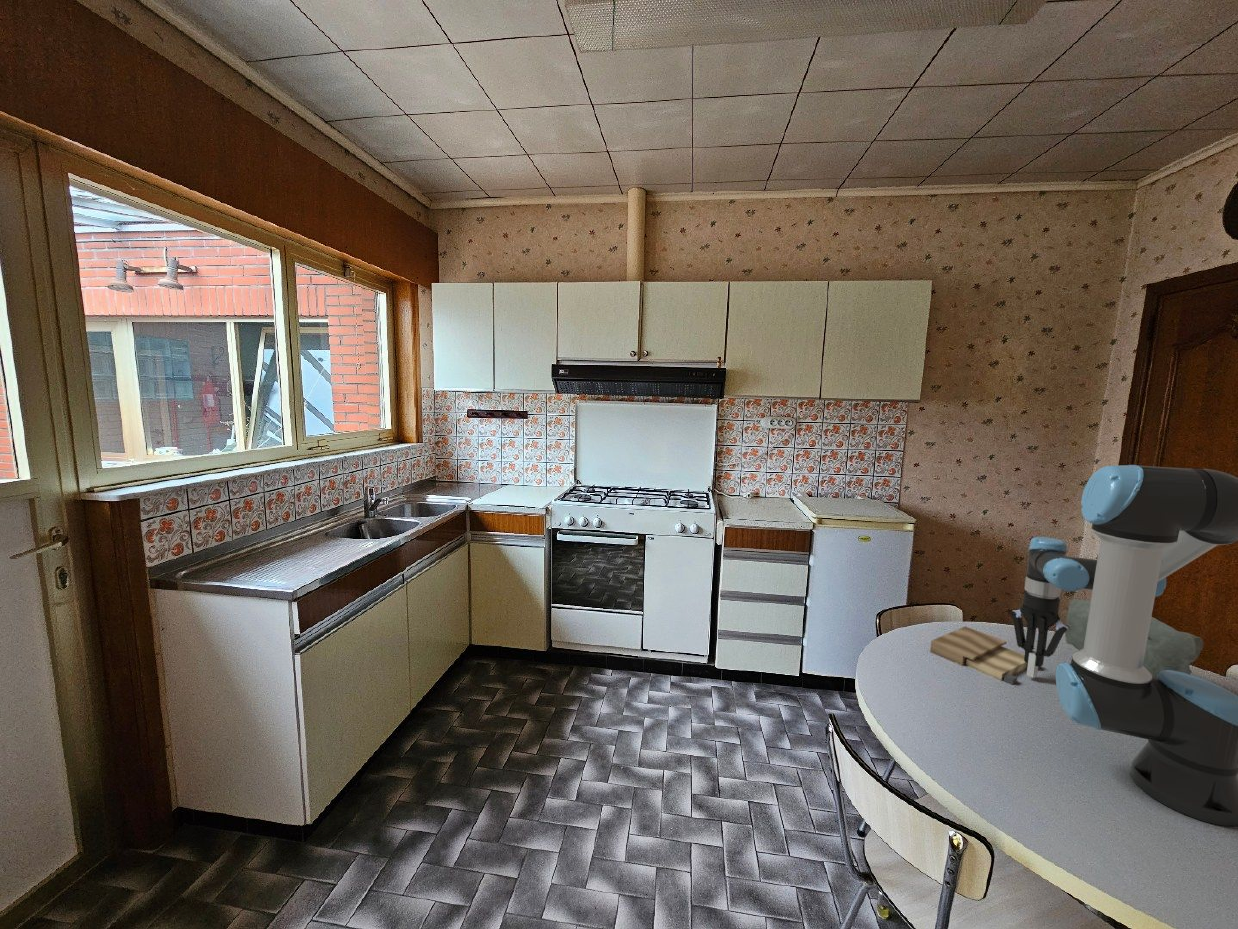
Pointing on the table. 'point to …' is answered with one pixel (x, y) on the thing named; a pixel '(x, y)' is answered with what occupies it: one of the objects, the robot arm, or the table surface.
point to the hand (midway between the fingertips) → (1031, 675)
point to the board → (964, 645)
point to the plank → (999, 663)
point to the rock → (1162, 643)
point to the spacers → (1012, 678)
